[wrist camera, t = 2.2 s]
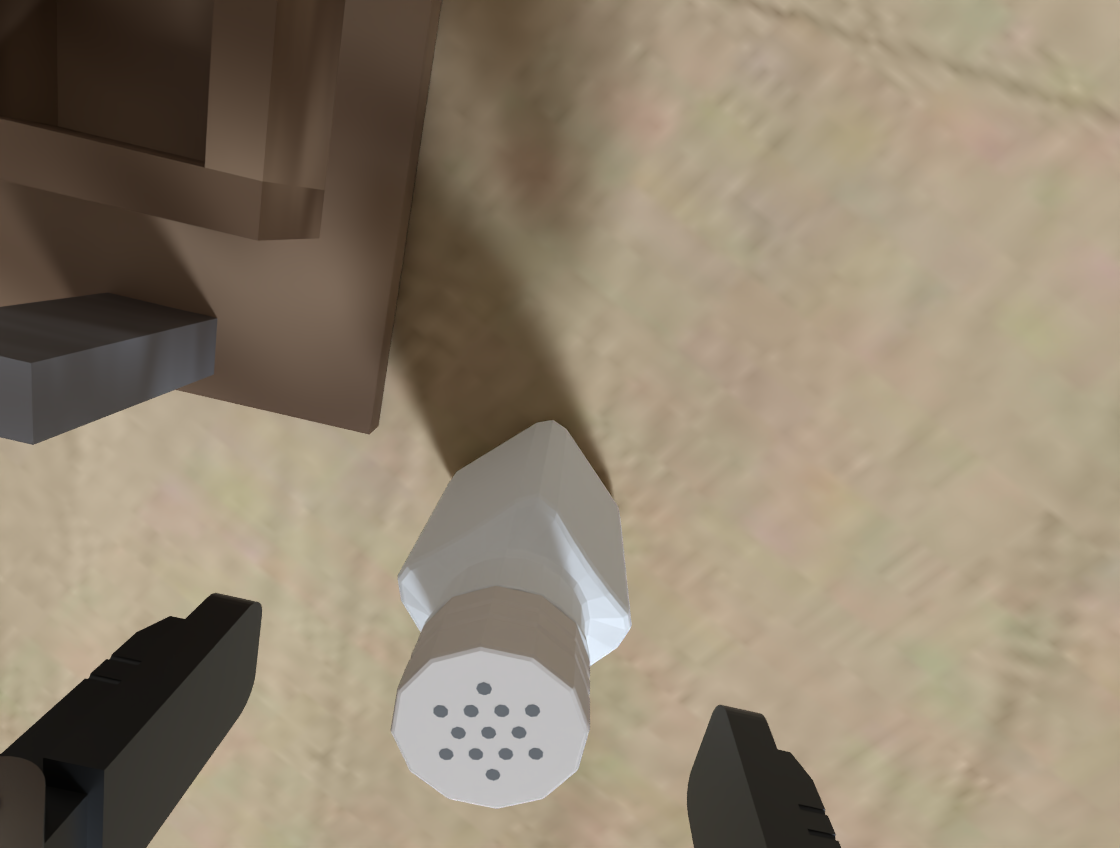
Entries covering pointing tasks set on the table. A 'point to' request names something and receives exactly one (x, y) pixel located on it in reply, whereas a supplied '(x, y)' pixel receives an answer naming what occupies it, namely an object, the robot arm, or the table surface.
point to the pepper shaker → (510, 621)
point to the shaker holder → (204, 203)
